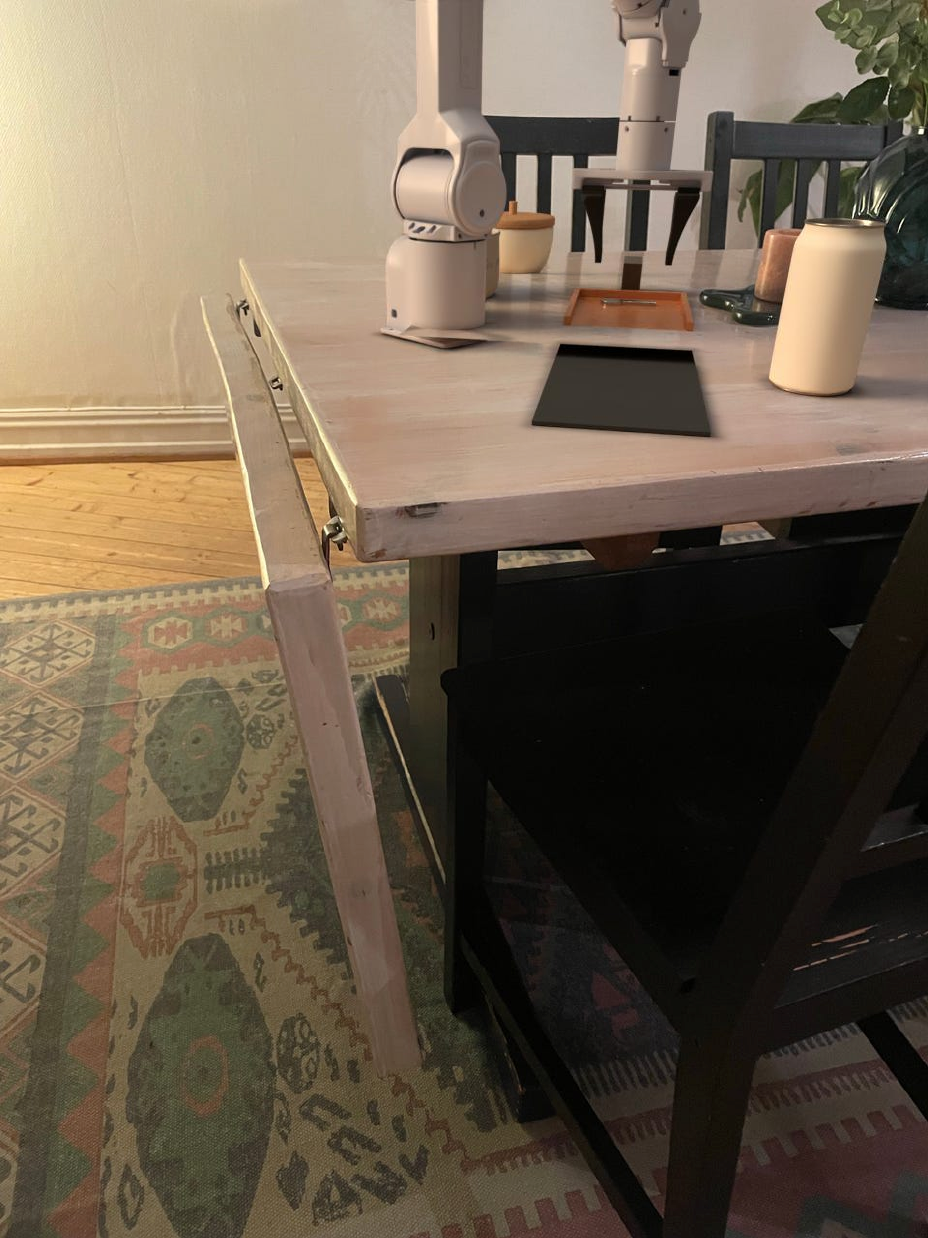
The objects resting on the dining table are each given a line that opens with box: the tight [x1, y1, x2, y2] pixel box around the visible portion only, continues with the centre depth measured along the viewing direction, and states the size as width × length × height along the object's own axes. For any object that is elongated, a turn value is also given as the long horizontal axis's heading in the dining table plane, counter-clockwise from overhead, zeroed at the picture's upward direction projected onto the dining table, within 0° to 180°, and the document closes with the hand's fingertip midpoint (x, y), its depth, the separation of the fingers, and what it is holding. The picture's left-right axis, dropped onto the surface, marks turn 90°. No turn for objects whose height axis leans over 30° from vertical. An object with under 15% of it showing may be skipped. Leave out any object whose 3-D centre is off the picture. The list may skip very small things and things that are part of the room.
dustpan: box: [563, 255, 695, 332], centre depth 89 cm, size 12×22×4 cm, turn 170°
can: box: [768, 217, 887, 397], centre depth 66 cm, size 6×6×12 cm
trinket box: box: [494, 200, 556, 274], centre depth 111 cm, size 11×11×9 cm
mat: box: [531, 343, 712, 437], centre depth 69 cm, size 12×26×1 cm, turn 170°
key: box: [600, 298, 656, 307], centre depth 91 cm, size 6×2×1 cm, turn 80°
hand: (633, 263), depth 96 cm, fingers open, 7 cm apart
